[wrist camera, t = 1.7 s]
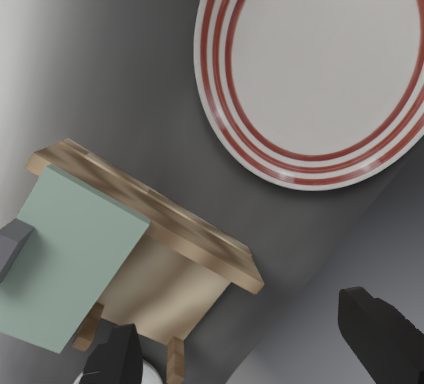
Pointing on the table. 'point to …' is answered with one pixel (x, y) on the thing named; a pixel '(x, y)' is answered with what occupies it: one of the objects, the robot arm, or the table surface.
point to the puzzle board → (156, 259)
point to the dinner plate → (312, 85)
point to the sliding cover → (61, 257)
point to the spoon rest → (149, 379)
